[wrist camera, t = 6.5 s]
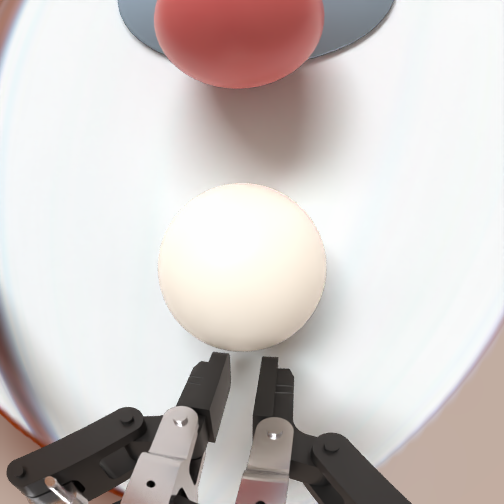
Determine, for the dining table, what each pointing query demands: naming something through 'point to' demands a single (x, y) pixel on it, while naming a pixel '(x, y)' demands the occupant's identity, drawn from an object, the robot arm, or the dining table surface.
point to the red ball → (238, 38)
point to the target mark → (333, 35)
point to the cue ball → (242, 267)
